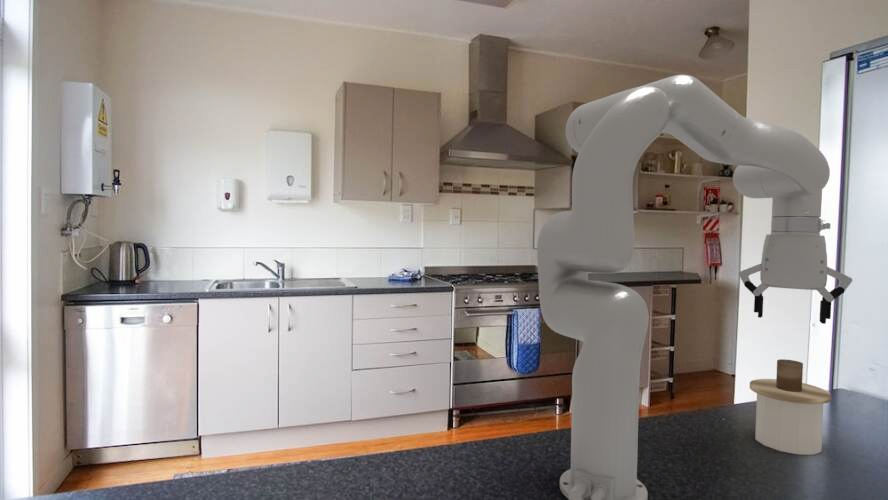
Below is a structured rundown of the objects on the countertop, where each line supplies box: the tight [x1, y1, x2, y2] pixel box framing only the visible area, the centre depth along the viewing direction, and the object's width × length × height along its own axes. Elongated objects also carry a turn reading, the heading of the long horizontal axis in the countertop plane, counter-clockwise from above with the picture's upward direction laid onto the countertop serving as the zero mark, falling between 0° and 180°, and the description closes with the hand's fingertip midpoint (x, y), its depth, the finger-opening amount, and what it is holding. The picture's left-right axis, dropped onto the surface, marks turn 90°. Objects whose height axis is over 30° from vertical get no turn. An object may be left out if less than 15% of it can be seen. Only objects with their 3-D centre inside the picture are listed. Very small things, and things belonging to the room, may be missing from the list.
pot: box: [754, 393, 824, 456], centre depth 96 cm, size 10×10×10 cm
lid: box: [749, 358, 832, 405], centre depth 96 cm, size 13×13×6 cm
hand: (790, 319), depth 95 cm, fingers open, 9 cm apart
